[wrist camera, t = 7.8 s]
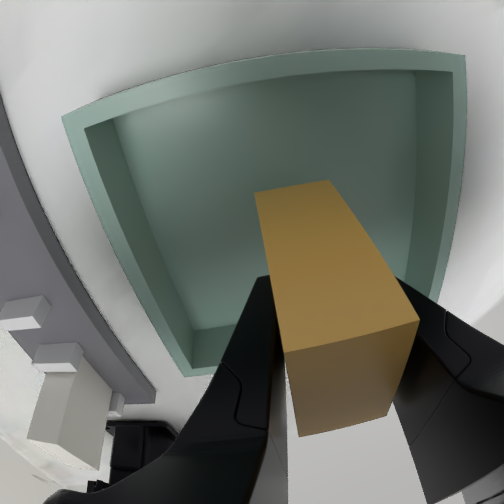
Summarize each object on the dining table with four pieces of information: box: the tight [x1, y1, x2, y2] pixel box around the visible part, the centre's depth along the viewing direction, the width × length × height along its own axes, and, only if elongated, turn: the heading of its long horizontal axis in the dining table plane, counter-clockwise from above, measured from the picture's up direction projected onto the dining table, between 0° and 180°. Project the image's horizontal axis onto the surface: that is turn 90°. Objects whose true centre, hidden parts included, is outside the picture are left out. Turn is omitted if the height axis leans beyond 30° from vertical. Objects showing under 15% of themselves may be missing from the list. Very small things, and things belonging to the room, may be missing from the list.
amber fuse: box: [254, 180, 420, 437], centre depth 8 cm, size 4×2×6 cm, turn 10°
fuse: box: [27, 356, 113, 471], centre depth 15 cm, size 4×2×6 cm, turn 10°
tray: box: [61, 48, 467, 377], centre depth 12 cm, size 12×12×3 cm
